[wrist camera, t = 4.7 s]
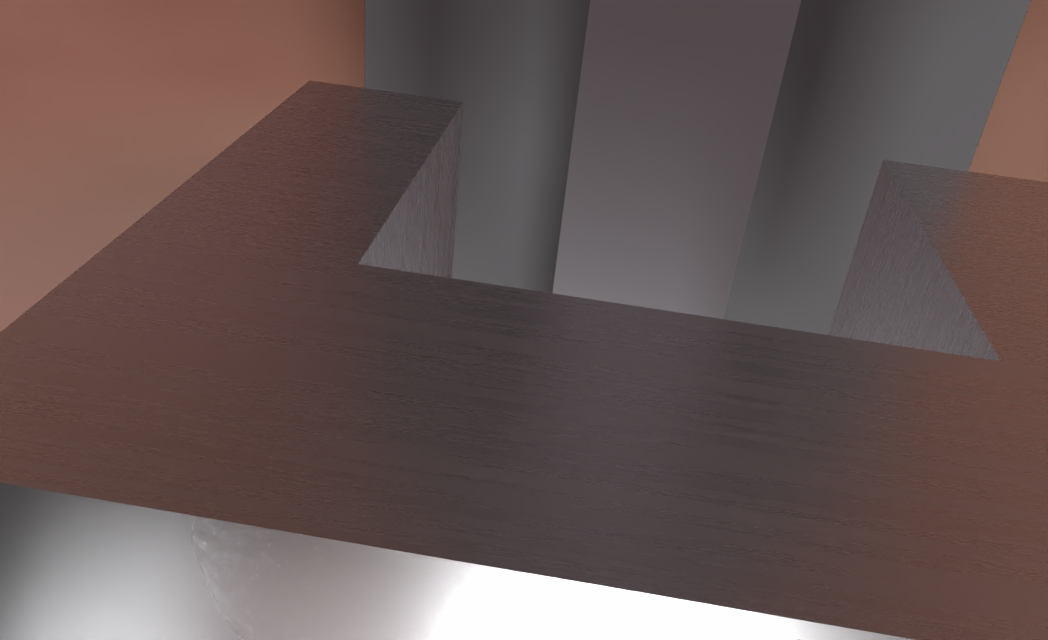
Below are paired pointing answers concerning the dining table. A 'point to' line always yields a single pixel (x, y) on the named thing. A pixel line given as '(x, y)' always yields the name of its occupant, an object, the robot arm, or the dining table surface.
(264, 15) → the dining table surface
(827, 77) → the hitch plate
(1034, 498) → the lock block
